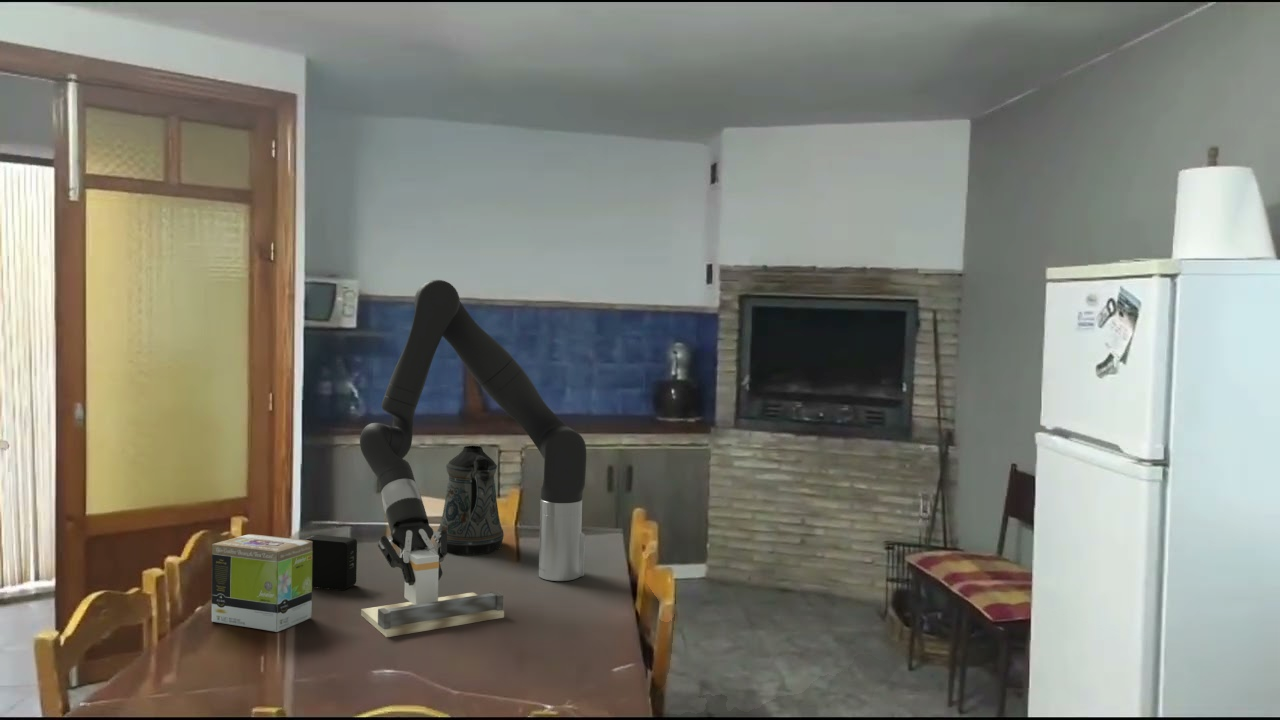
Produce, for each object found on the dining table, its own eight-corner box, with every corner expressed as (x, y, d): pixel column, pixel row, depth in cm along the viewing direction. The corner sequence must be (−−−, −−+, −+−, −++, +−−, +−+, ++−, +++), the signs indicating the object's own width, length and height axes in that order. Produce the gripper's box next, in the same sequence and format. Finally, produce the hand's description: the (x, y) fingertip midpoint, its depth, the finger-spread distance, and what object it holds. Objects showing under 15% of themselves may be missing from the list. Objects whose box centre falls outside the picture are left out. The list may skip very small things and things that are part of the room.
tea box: (313, 617, 175) (314, 539, 175) (276, 634, 166) (277, 551, 165) (248, 607, 180) (249, 531, 180) (208, 622, 171) (209, 542, 170)
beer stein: (470, 535, 244) (473, 440, 243) (525, 548, 233) (528, 448, 232) (421, 547, 231) (423, 446, 230) (477, 561, 219) (480, 454, 218)
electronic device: (346, 590, 193) (347, 542, 192) (302, 586, 195) (303, 538, 194) (356, 585, 197) (357, 538, 197) (313, 581, 199) (313, 534, 199)
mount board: (474, 597, 191) (474, 578, 191) (504, 617, 179) (505, 596, 179) (359, 615, 177) (360, 594, 177) (385, 637, 166) (385, 615, 166)
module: (425, 593, 185) (426, 548, 184) (438, 602, 179) (439, 556, 179) (403, 597, 182) (404, 551, 182) (415, 605, 177) (416, 558, 176)
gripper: (373, 499, 182) (394, 576, 172) (443, 493, 190) (466, 566, 181) (364, 520, 186) (383, 597, 177) (432, 514, 195) (454, 586, 185)
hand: (425, 581), depth 179 cm, fingers closed on module, 4 cm apart
